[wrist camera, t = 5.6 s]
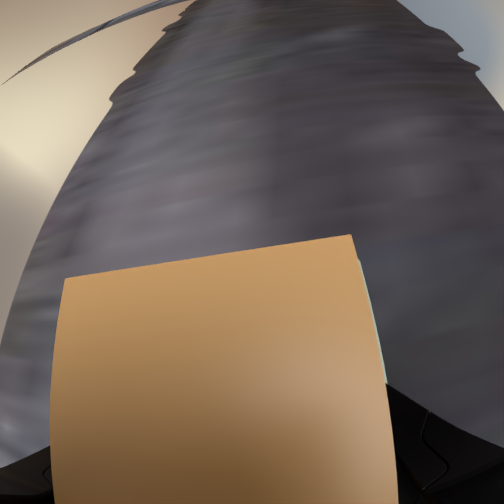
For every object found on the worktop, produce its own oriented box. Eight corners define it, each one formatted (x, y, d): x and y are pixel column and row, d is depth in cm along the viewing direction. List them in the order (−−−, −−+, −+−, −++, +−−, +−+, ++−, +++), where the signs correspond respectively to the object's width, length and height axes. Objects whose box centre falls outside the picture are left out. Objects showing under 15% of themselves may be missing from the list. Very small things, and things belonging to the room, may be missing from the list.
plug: (332, 473, 11) (397, 591, 1) (231, 481, 11) (67, 568, 2) (320, 370, 13) (351, 234, 4) (224, 381, 14) (65, 277, 5)
